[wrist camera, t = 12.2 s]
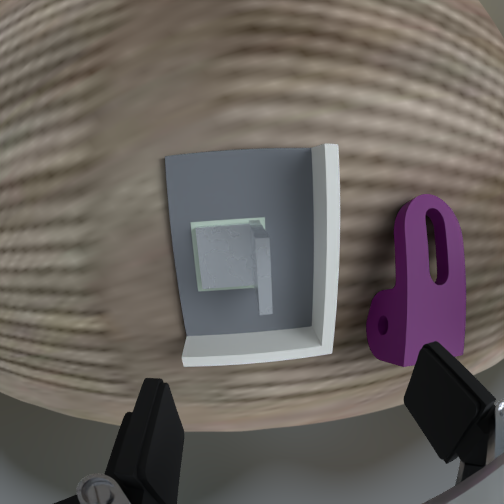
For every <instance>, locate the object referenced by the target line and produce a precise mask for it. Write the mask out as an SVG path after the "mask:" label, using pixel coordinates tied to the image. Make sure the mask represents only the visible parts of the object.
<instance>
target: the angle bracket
mask: <svg viewBox="0 0 504 504" xmlns="http://www.w3.org/2000/svg"><path fill="white" fill-rule="evenodd" d="M195 229H196V239H197V248H198V257H199V265H200V273H201V281H202V289H210V288H224V287H238V286H250V285H254V289H255V294H256V299H257V304H258V309H259V314H260V315H267V314H273V309H272V283H271V259H270V238H269V236H268V234H267V232H266V231H265V229H264V227H263V226H262V224H261V222H248V223H235V224H222V225H210V226H198V227H196V228H195Z"/></svg>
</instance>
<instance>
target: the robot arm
mask: <svg viewBox="0 0 504 504" xmlns="http://www.w3.org/2000/svg"><path fill="white" fill-rule="evenodd" d="M495 400H496V398H494V396H493V395H492V394H491V393H490V392H489V391H487V389H486V388H485V387H484V386H483V385H482V384H481V383H480V382H479V381H478V380H477V379H476V378H475V377H474V376H473V375H472V374H471V373H470V372H469V371H468V370H467V369H466V368H465V367H464V366H463V365H462V364H461V363H460V362H459V361H458V360H457V359H456V358H455V357H454V356H453V355H452V354H451V353H450V352H449V351H448V350H446V349H445V348H444V347H443V346H442V345H441V344H440V343H439V342H437V341H434V342H431V343H428V344H425V345H423V347H422V349H421V350H420V351H419V354H418V357H417V361H416V364H415V367H414V370H413V373H412V376H411V379H410V382H409V385H408V388H407V390H406V393H405V396H404V404H405V405H406V407H407V408H408V410H409V411H410V413H411V414H412V416H413V417H414V419H415V420H416V422H417V423H418V425H419V427H420V428H421V429H422V431H423V433H424V434H425V436H426V437H427V439H428V440H429V442H430V443H431V445H432V447H433V448H434V450H435V451H436V453H437V454H438V456H439V457H440V458H441V459H444V461H445V462H446V464H447V463H449V462H451V461H453V460H454V459H456V458H457V457H458V456H459V458H460V465H459V470H458V474H457V479H456V484H455V486H454V487H452V488H451V489H449V490H447V491H445V492H443V493H442V494H440V495H438V496H436V497H434V498H432V499H430V500H428V501H427V502H425V503H423V504H504V399H502V400H500V401H499V402H498V403H497V405H496V406H495V405H494V402H495ZM183 444H184V429H183V426H182V424H181V421H180V418H179V415H178V412H177V409H176V406H175V403H174V400H173V397H172V394H171V391H170V388H169V385H168V383H164V382H163V380H162V379H156V378H146V379H145V380H144V382H143V385H142V387H141V390H140V393H139V396H138V399H137V401H136V404H135V407H134V410H133V412H127V413H126V414H125V416H124V418H123V421H122V424H121V426H120V429H119V432H118V435H117V438H116V441H115V444H114V447H113V450H112V453H111V456H110V459H109V462H108V465H107V468H106V471H105V475H104V474H91V475H88V476H86V477H85V478H83V479H82V480H81V481H80V482H79V484H78V486H77V495H74V496H72V497H69V498H67V499H65V500H62V501H59V502H57V503H54V504H177V496H178V486H179V477H180V468H181V460H182V452H183Z"/></svg>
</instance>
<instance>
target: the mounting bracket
mask: <svg viewBox="0 0 504 504" xmlns="http://www.w3.org/2000/svg"><path fill="white" fill-rule="evenodd" d="M425 215H427V216H428V217H429V218H430V219H431V221H432V223H433V226H434V234H435V245H436V259H437V279H436V282H435V283H434V282H433V280H432V279H431V276H430V272H429V254H428V241H427V230H426V221H425ZM394 242H395V263H396V284H395V287H394V288H393V289H387V290H382V291H380V292H378V293H377V294H376V295H375V296H374V298H373V300H372V302H371V306H370V310H369V314H368V318H367V322H366V332H367V340H368V344H369V347H370V350H371V352H372V353H373V355H374V356H375V357H376V358H377V359H379V360H382V361H385V362H388V363H392V364H395V365H399V366H402V367H406V366H412V365H415V364H416V361H417V357H418V354H419V351H420V350H421V349H422V347H423V345H425V344H428V343H431V342H434V341H437V342H439V343H440V344H441V345H442V346H443V347H444V348H445V349H446V350H448V351H449V352H450V353H451V354H452V355H453V356H454V357H456V356H460V355H463V350H464V338H465V321H466V277H465V259H464V247H463V238H462V232H461V228H460V225H459V222H458V220H457V218H456V216H455V214H454V213H453V211H452V210H451V208H450V207H449V206H448V205H447V204H446V203H445V202H444V201H443V200H442V199H440V198H438V197H436V196H434V195H430V194H423V195H420V196H417V197H416V198H414V199H413V200H411V201H409V202H408V203H406V204H405V205H403V206H402V208H401V209H400V210H399V212H398V214H397V217H396V220H395V225H394Z"/></svg>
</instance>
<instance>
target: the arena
mask: <svg viewBox="0 0 504 504" xmlns="http://www.w3.org/2000/svg"><path fill="white" fill-rule="evenodd" d="M165 166H166V181H167V193H168V205H169V216H170V225H171V234H172V243H173V251H174V259H175V267H176V274H177V281H178V287H179V294H180V300H181V306H182V312H183V318H184V324H185V329H186V335H187V337H186V341H185V345H184V350H183V354H182V361H183V365H184V367H189V366H219V365H237V364H250V363H262V362H272V361H281V360H290V359H298V358H305V357H313V356H319V355H326V354H332V349H333V340H334V330H335V319H336V307H337V293H338V275H339V250H340V176H339V152H338V144H322V145H319V146H316V147H313V148H265V149H241V150H225V151H212V152H200V153H190V154H181V155H172V156H165ZM248 222H261V224H262V226H263V227H264V229H265V231H266V232H267V234H268V236H269V238H270V259H271V283H272V309H273V314H267V315H260V314H259V309H258V304H257V299H256V294H255V289H254V285H250V286H238V287H224V288H210V289H202V281H201V273H200V265H199V257H198V248H197V239H196V229H195V228H196V227H198V226H210V225H222V224H235V223H248Z"/></svg>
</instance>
